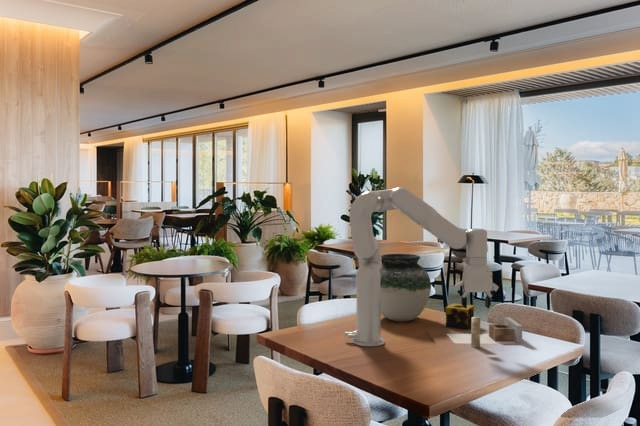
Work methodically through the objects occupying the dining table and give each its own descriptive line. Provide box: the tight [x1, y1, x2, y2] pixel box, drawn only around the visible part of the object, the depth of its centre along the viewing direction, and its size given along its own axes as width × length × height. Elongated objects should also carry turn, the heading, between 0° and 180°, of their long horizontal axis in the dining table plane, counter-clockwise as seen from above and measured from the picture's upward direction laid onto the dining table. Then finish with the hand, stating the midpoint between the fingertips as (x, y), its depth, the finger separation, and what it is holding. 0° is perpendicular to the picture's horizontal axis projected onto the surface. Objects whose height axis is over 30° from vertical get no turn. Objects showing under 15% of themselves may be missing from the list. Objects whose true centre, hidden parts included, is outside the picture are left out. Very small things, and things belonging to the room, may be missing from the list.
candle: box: [445, 303, 475, 331], centre depth 226 cm, size 10×10×10 cm
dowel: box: [470, 316, 481, 349], centre depth 195 cm, size 3×3×12 cm
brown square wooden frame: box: [488, 323, 514, 341], centre depth 206 cm, size 8×8×5 cm
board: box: [446, 316, 523, 345], centre depth 206 cm, size 26×14×8 cm, turn 89°
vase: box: [380, 253, 432, 322], centre depth 243 cm, size 28×28×30 cm
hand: (476, 307), depth 195 cm, fingers open, 8 cm apart
